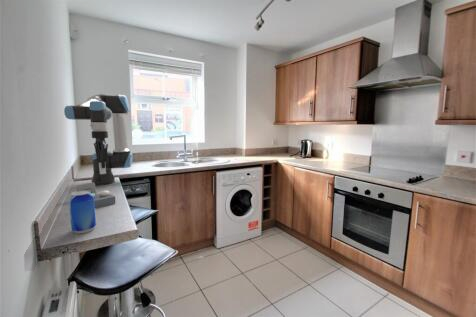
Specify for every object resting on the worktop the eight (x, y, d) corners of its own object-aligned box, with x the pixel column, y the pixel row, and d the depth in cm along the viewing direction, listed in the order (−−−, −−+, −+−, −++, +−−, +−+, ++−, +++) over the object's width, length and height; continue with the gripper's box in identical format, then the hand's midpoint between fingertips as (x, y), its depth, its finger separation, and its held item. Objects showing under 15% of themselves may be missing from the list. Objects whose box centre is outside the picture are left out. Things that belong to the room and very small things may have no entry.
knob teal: (94, 202, 127) (93, 192, 126) (97, 204, 124) (96, 194, 123) (85, 204, 123) (84, 194, 123) (88, 206, 121) (87, 196, 120)
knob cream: (107, 199, 132) (107, 190, 131) (111, 200, 129) (110, 191, 129) (99, 201, 129) (98, 191, 128) (102, 202, 126) (101, 193, 125)
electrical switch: (79, 201, 130) (77, 185, 129) (76, 200, 133) (74, 184, 132) (97, 197, 137) (95, 182, 136) (94, 197, 140) (92, 182, 140)
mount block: (106, 198, 135) (106, 192, 135) (115, 203, 128) (115, 196, 127) (81, 204, 125) (80, 197, 125) (89, 209, 118) (88, 202, 117)
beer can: (93, 223, 101) (90, 188, 99) (98, 230, 95) (95, 192, 93) (70, 229, 96) (66, 192, 93) (73, 236, 90) (69, 196, 87)
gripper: (87, 130, 125) (90, 173, 128) (96, 131, 117) (100, 176, 120) (102, 130, 131) (105, 171, 134) (112, 130, 122) (115, 174, 126)
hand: (102, 173), depth 127 cm, fingers closed
